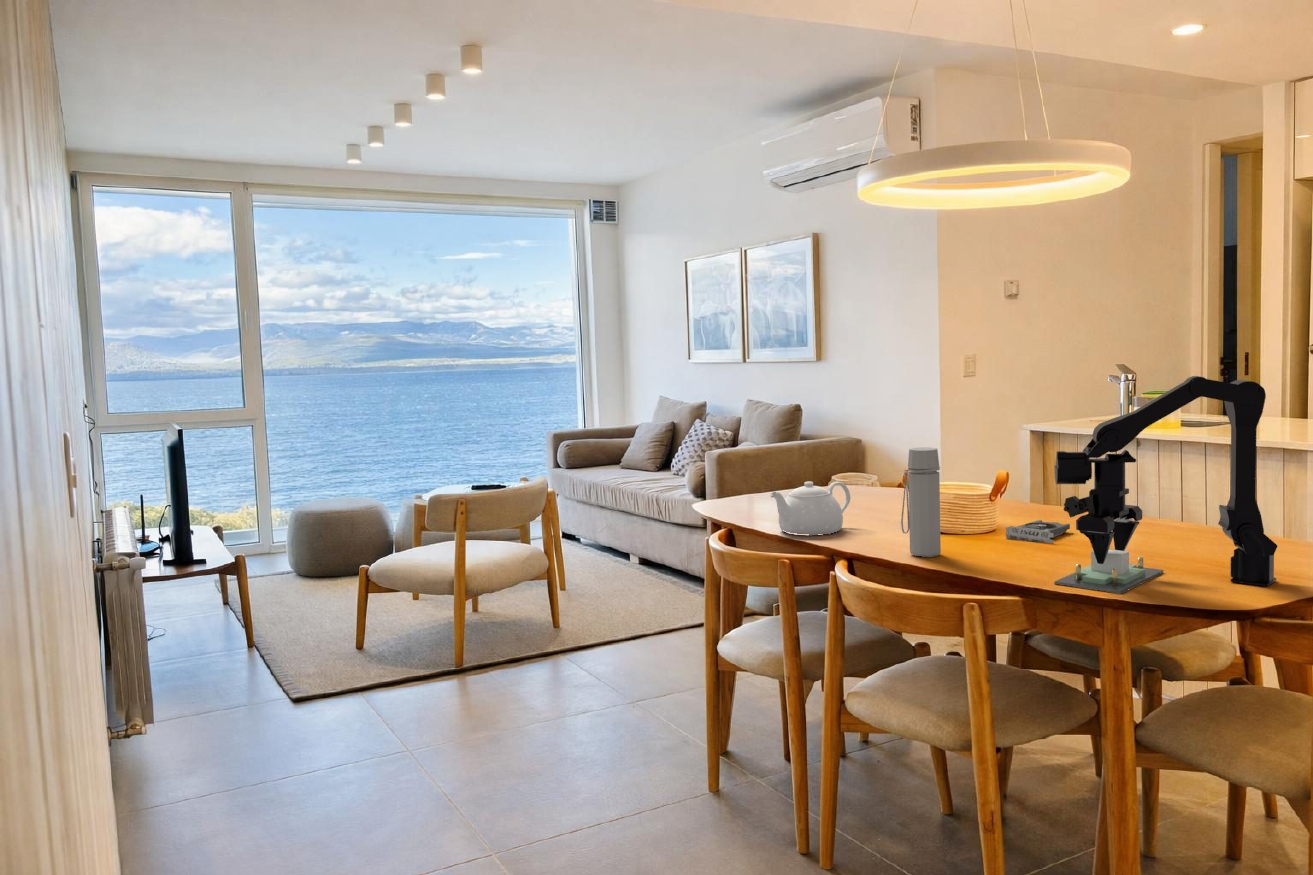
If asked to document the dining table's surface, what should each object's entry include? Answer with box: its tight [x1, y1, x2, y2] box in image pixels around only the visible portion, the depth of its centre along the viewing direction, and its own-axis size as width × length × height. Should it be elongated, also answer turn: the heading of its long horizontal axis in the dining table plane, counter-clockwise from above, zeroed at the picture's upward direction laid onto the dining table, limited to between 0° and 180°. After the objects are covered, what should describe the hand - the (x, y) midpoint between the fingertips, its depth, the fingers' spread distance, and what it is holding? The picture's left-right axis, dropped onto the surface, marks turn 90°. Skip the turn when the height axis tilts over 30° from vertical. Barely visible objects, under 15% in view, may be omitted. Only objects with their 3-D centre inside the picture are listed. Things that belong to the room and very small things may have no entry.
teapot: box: [770, 481, 851, 535], centre depth 264 cm, size 19×18×14 cm
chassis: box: [1054, 556, 1164, 595], centre depth 200 cm, size 13×22×4 cm, turn 133°
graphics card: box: [1005, 519, 1071, 545], centre depth 245 cm, size 17×4×12 cm
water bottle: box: [900, 447, 942, 558], centre depth 229 cm, size 9×8×25 cm
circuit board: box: [1074, 548, 1145, 585], centre depth 200 cm, size 10×16×5 cm, turn 133°
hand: (1109, 559), depth 200 cm, fingers open, 9 cm apart
